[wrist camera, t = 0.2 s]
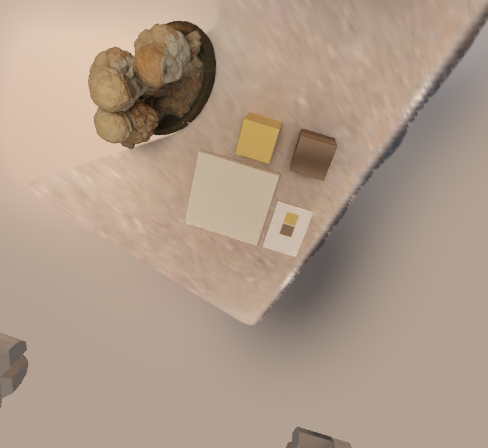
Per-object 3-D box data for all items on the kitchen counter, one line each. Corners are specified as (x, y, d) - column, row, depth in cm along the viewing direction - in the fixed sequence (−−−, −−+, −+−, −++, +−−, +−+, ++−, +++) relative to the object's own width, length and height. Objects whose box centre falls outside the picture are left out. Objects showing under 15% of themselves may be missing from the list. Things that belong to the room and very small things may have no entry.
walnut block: (302, 128, 52) (300, 135, 48) (334, 138, 52) (336, 146, 48) (291, 160, 55) (289, 170, 50) (322, 169, 55) (323, 180, 50)
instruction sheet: (277, 200, 58) (277, 201, 58) (313, 211, 58) (313, 212, 58) (262, 246, 62) (262, 247, 62) (295, 257, 62) (295, 257, 62)
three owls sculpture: (175, 156, 58) (126, 194, 43) (112, 112, 56) (38, 136, 41) (235, 52, 50) (199, 55, 34) (162, -2, 48) (92, -24, 33)
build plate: (200, 149, 56) (198, 151, 55) (280, 173, 56) (279, 176, 55) (186, 220, 62) (184, 223, 61) (257, 242, 62) (256, 245, 61)
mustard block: (249, 112, 53) (244, 118, 48) (282, 122, 53) (279, 129, 48) (241, 144, 55) (235, 153, 51) (272, 154, 55) (269, 163, 50)
